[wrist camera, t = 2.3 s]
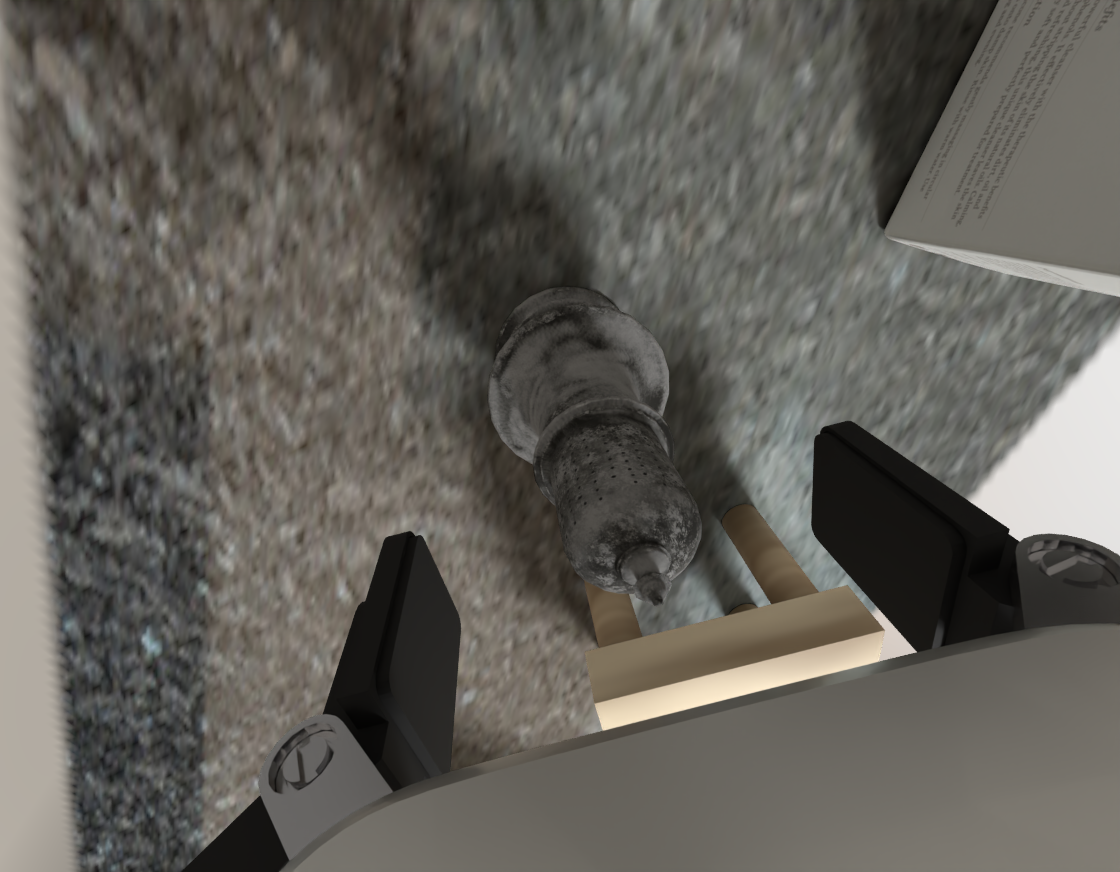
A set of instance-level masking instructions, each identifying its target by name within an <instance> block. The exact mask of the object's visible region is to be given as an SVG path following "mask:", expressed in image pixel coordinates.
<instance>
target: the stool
mask: <svg viewBox="0 0 1120 872" xmlns="http://www.w3.org/2000/svg"><path fill="white" fill-rule="evenodd" d="M722 525H723V528H724V529H725V531H726V533H727V534H728V536H729V537H730V539H731V541H732V542H733V544H734V545H735V547H736V549H737V550H738V552H739V553H740V555H741V556H742V558H743V560H744V561H745V563H746V564H747V566H748V568H749V569H750V571H751V572H752V574H753V576H754V577H755V579H756V580H757V582H758V584H759V585H760V587H761V588H762V590H763V592H764V593H765V595H766V596H767V598H768V600H769V601H770V603H771V605H767V606H763V607H759V608H758V607H757V606H756V605H753V604H743V605H740V606H738V607H736V608H735V609H733V610H732V611H731V612H730V614H729V615H728V616H724V617H720V618H716V619H712V620H708V621H704V622H700V623H696V624H692V625H688V626H684V627H680V628H676V629H672V630H668V631H664V632H661V633H657V634H653V635H649V636H645V637H642V634H641V631H640V628H639V625H638V621H637V618H636V615H635V612H634V609H633V606H632V603H631V599H630V596H629V594H618V593H613V592H609V591H605V590H603V589H601V588H598V587H596V586H594V585H592V584H590V583H588V582H586V581H585V580H584V583H585V588H586V592H587V597H588V601H589V606H590V610H591V615H592V619H593V624H594V628H595V633H596V637H597V642H598V646H599V648H597V649H593V650H589V651H585V656H586V662H587V667H588V672H589V677H590V682H591V687H592V693H593V698H594V703H595V706H596V710H597V713H598V716H599V719H600V722H601V726H602V729H603V731H604V730H608V729H612V728H616V727H620V726H623V725H627V724H631V723H635V722H639V721H643V720H647V719H651V718H655V717H659V716H663V715H667V714H671V713H674V712H678V711H682V710H686V709H690V708H694V707H698V706H702V705H706V704H710V703H714V702H718V701H722V700H726V699H730V698H734V697H738V696H742V695H746V694H750V693H754V692H758V691H762V690H766V689H770V688H774V687H778V686H782V685H786V684H790V683H794V682H798V681H802V680H806V679H810V678H814V677H818V676H822V675H827V674H831V673H835V672H839V671H843V670H847V669H851V668H855V667H859V666H863V665H867V664H871V663H875V662H879V658H880V653H881V648H882V643H883V637H884V632H885V630H884V629H883V628H882V626H881V625H880V624H879V623H878V621H877V620H876V619H875V618H874V617H873V615H872V614H871V613H870V612H869V611H868V609H867V608H866V607H865V606H864V605H863V603H862V602H861V601H860V600H859V599H858V597H857V596H856V595H855V594H854V593H853V591H852V590H851V589H850V588H849V586H848V585H846V586H842V587H838V588H834V589H830V590H826V591H822V592H818V590H817V589H816V588H815V586H814V585H813V584H812V582H811V581H810V580H809V579H808V577H807V576H806V575H805V573H804V572H803V571H802V569H801V568H800V567H799V565H798V564H797V563H796V561H795V560H794V559H793V557H792V556H791V555H790V553H789V552H788V551H787V549H786V548H785V547H784V545H783V544H782V543H781V541H780V540H779V539H778V537H777V536H776V535H775V533H774V532H773V531H772V529H771V528H770V527H769V525H768V524H767V523H766V521H765V520H764V519H763V517H762V516H761V515H760V513H759V512H758V511H757V509H756V508H755V507H753V506H752V505H748V504H743V505H738V506H736V507H734V508H732V509H730V510H729V511H728V512H727V513H726V514H725V516H724V518H723V521H722Z"/></svg>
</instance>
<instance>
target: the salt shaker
mask: <svg viewBox="0 0 1120 872" xmlns="http://www.w3.org/2000/svg"><path fill="white" fill-rule="evenodd" d="M668 395H669V370H668V366H667V363H666V360H665V356H664V353H663V350H662V349H661V347H660V345H659V344H658V342H657V341H656V339H655V338H654V336H653V335H652V333H651V332H650V331H649V330H648V329H647V328H646V327H644V326H643V325H642V324H641V323H640V322H638V321H637V320H636V319H635V318H633V317H632V316H630V315H628V314H626V313H623V312H621V311H619V309H618V308H617V307H616V306H615V305H613V304H612V303H611V302H610V301H609V300H607V299H606V298H605V297H604V296H602V295H600V294H597V293H595V292H593V291H590V290H588V289H585V288H577V287H570V286H565V287H558V288H551V289H547V290H544V291H542V292H540V293H537V294H535V295H533V296H530V297H529V298H528V299H526V300H525V301H524V302H522V303H521V304H520V305H519V306H517V307H516V308H515V309H514V310H513V312H512V313H511V314H510V316H509V317H508V318H507V320H506V321H505V322H504V324H503V326H502V329H501V332H500V334H499V337H498V339H497V345H496V355H495V362H494V365H493V367H492V370H491V372H490V375H489V383H488V394H487V401H488V406H489V411H490V416H491V421H492V423H493V425H494V426H495V428H496V430H497V432H498V434H499V436H500V438H501V440H502V441H503V442H504V443H505V444H506V445H507V446H508V447H509V448H510V449H511V450H512V451H513V452H514V453H515V454H516V455H517V456H519V457H521V458H523V459H524V460H526V461H528V462H529V463H531V464H533V469H534V475H535V481H536V482H537V484H538V486H539V488H540V490H541V492H542V494H543V495H544V496H545V497H546V498H547V499H548V500H549V501H550V502H551V503H552V504H553V505H555V506H556V510H557V515H558V521H559V526H560V531H561V536H562V541H563V547H564V552H565V553H566V555H567V557H568V559H569V561H570V563H571V565H572V567H573V568H574V570H575V572H576V573H577V574H578V575H579V576H580V577H581V578H583V579H584V580H585V581H586V582H588V583H590V584H592V585H594V586H596V587H598V588H601V589H603V590H605V591H609V592H613V593H618V594H634V593H635V595H636V597H637V598H639V599H641V600H643V601H645V602H647V603H649V604H653V605H654V606H656V607H660V606H661V605H662V604H663V602H664V600H665V599H666V597H667V594H668V592H669V590H670V588H671V585H672V584H671V580H672V579H674V578H675V577H677V576H678V575H679V574H680V573H681V572H682V571H683V570H685V568H686V567H687V566H688V564H689V563H690V562H691V560H692V559H693V557H694V555H695V552H696V550H697V547H698V545H699V542H700V540H701V533H702V523H701V518H700V514H699V511H698V508H697V504H696V502H695V500H694V498H693V496H692V495H691V493H690V491H689V490H688V488H687V486H686V485H685V483H684V481H683V480H682V478H681V476H680V475H679V473H678V471H677V470H676V468H675V466H674V465H673V463H672V462H673V459H674V440H673V437H672V433H671V430H670V427H669V426H668V424H667V423H666V422H665V420H664V419H663V418H662V415H663V412H664V409H665V405H666V402H667V398H668Z"/></svg>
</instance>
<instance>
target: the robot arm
mask: <svg viewBox="0 0 1120 872" xmlns="http://www.w3.org/2000/svg"><path fill="white" fill-rule="evenodd" d="M811 525H812V530H813V533H814V535H815V537H816V538H817V540H818V541H819V542H820V543H821V544H822V546H823V547H824V548H825V549H826V550H827V551H828V552H829V553H830V555H831V556H832V557H833V558H834V559H835V560H836V561H837V562H838V564H839V565H840V566H841V567H842V568H843V569H844V570H845V571H846V573H847V574H848V575H849V576H850V577H851V578H852V579H853V580H854V582H855V583H856V584H857V585H858V586H859V587H860V588H861V589H862V591H863V592H864V593H865V594H866V595H867V596H868V597H869V599H870V600H871V601H872V602H873V603H874V604H875V605H876V606H877V608H878V609H879V610H880V611H881V612H882V613H883V614H884V615H885V617H886V618H888V620H889V621H890V622H891V623H892V624H893V626H894V627H895V628H896V629H897V630H898V631H899V632H900V633H901V635H902V636H903V637H904V638H905V639H906V640H907V641H908V642H909V644H910V645H911V646H912V647H913V648H914V649H915V650H916V651H917V653H913V654H908V655H904V656H900V657H896V658H892V659H888V660H884V661H880V662H875V663H871V664H867V665H863V666H859V667H855V668H851V669H847V670H843V671H839V672H835V673H831V674H827V675H822V676H818V677H814V678H810V679H806V680H802V681H798V682H794V683H790V684H786V685H782V686H778V687H774V688H770V689H766V690H762V691H758V692H754V693H750V694H746V695H742V696H738V697H734V698H730V699H726V700H722V701H718V702H714V703H710V704H706V705H702V706H698V707H694V708H690V709H686V710H682V711H678V712H674V713H671V714H667V715H663V716H659V717H655V718H651V719H647V720H643V721H639V722H635V723H631V724H627V725H623V726H620V727H616V728H612V729H608V730H604V731H600V732H596V733H592V734H588V735H585V736H581V737H577V738H573V739H569V740H565V741H561V742H557V743H554V744H550V745H546V746H542V747H538V748H534V749H530V750H526V751H523V752H519V753H516V754H512V755H508V756H505V757H501V758H497V759H494V760H490V761H487V762H483V763H479V764H476V765H472V766H469V767H465V768H461V769H458V770H454V771H451V772H450V766H451V753H452V740H453V726H454V713H455V700H456V687H457V674H458V661H459V647H460V634H461V623H460V618H459V614H458V612H457V610H456V608H455V605H454V603H453V601H452V599H451V597H450V594H449V592H448V590H447V588H446V586H445V584H444V581H443V579H442V577H441V575H440V573H439V571H438V568H437V566H436V564H435V562H434V560H433V558H432V555H431V553H430V551H429V549H428V547H427V545H426V542H425V540H424V538H423V537H422V536H421V535H418V536H415V535H414V534H413V533H412V532H411V531H408V532H404V533H401V534H397V535H393V536H389V537H386V538H385V540H384V542H383V546H382V549H381V552H380V555H379V559H378V562H377V565H376V568H375V572H374V575H373V578H372V582H371V585H370V588H369V591H368V595H367V598H366V601H365V602H362V603H361V604H360V605H359V606H358V608H357V610H356V612H355V615H354V618H353V622H352V625H351V628H350V631H349V634H348V637H347V640H346V643H345V646H344V650H343V653H342V656H341V659H340V662H339V665H338V668H337V671H336V674H335V678H334V681H333V684H332V687H331V690H330V693H329V696H328V699H327V703H326V706H325V709H324V712H323V715H318V716H313V717H311V718H309V719H307V720H304V721H302V722H301V723H299V724H298V725H296V726H295V727H293V728H292V729H291V730H289V731H288V732H287V733H286V734H285V735H284V736H283V737H282V738H281V739H280V740H279V741H278V742H277V743H276V745H275V746H274V747H273V749H272V750H271V752H270V753H269V754H268V756H267V758H266V760H265V762H264V764H263V766H262V768H261V771H260V777H259V782H258V785H259V791H260V796H259V797H258V798H257V799H256V800H255V801H254V802H253V803H252V804H251V805H250V806H249V807H248V808H247V809H246V810H245V811H243V812H242V813H241V814H240V815H239V816H238V817H237V818H236V819H235V820H234V821H233V822H232V823H231V824H230V825H229V826H228V827H227V828H226V829H225V830H224V831H223V832H222V833H221V834H220V835H219V836H218V837H217V838H216V839H215V840H214V841H213V842H211V843H210V844H209V845H208V846H207V847H206V848H205V849H204V850H203V851H202V852H201V853H200V854H199V855H198V856H197V857H196V858H195V859H194V860H193V861H192V862H191V863H190V864H189V865H188V866H187V867H186V868H185V869H184V870H183V871H182V872H1120V556H1119V555H1118V554H1116V553H1114V552H1112V551H1111V550H1109V549H1107V548H1105V547H1103V546H1101V545H1099V544H1096V543H1093V542H1090V541H1088V540H1085V539H1081V538H1077V537H1072V536H1068V535H1059V534H1039V535H1033V536H1030V537H1027V538H1024V539H1023V540H1022V541H1020V542H1019V541H1018V540H1016V539H1015V538H1013V537H1012V536H1011V535H1009V534H1008V533H1009V528H1007V527H1006V526H1004V525H1003V524H1001V523H1000V522H998V521H997V520H995V519H994V518H993V517H991V516H990V515H988V514H987V513H985V512H984V511H982V510H981V509H979V508H978V507H976V506H975V505H974V504H972V503H971V502H969V501H968V500H966V499H965V498H963V497H962V496H960V495H959V494H958V493H956V492H955V491H953V490H952V489H950V488H949V487H947V486H946V485H944V484H943V483H942V482H940V481H939V480H937V479H936V478H934V477H933V476H931V475H930V474H928V473H927V472H925V471H924V470H923V469H921V468H920V467H918V466H917V465H915V464H914V463H912V462H911V461H909V460H908V459H906V458H905V457H904V456H902V455H901V454H899V453H898V452H896V451H895V450H893V449H892V448H890V447H889V446H888V445H886V444H885V443H883V442H882V441H880V440H879V439H877V438H876V437H874V436H873V435H871V434H870V433H869V432H867V431H866V430H864V429H863V428H861V427H860V426H858V425H857V424H855V423H854V422H852V421H845V422H841V423H837V424H833V425H829V426H825V427H823V428H822V430H821V431H820V434H819V435H817V436H816V437H815V440H814V463H813V492H812V520H811Z"/></svg>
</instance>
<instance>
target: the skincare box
mask: <svg viewBox="0 0 1120 872" xmlns="http://www.w3.org/2000/svg"><path fill="white" fill-rule="evenodd" d="M884 234H885V236H886V237H887V238H889V239H891V240H894V241H897V242H900V243H903V244H906V245H910V246H913V247H916V248H919V249H923V250H926V251H929V252H932V253H936V254H939V255H942V256H945V257H949V258H952V259H955V260H958V261H962V262H965V263H969V264H972V265H976V266H980V267H983V268H987V269H991V270H994V271H998V272H1002V273H1006V274H1010V275H1015V276H1020V277H1025V278H1030V279H1035V280H1039V281H1044V282H1049V283H1054V284H1059V285H1064V286H1069V287H1074V288H1079V289H1084V290H1089V291H1094V292H1099V293H1104V294H1109V295H1113V296H1118V297H1120V0H999V1H998V3H997V5H996V7H995V9H994V11H993V13H992V15H991V17H990V19H989V21H988V23H987V25H986V27H985V29H984V31H983V33H982V35H981V38H980V40H979V42H978V44H977V46H976V48H975V50H974V52H973V54H972V56H971V58H970V60H969V62H968V64H967V66H966V68H965V70H964V72H963V74H962V76H961V78H960V80H959V82H958V84H957V86H956V88H955V90H954V92H953V94H952V96H951V98H950V100H949V102H948V104H947V106H946V108H945V110H944V112H943V114H942V116H941V118H940V120H939V122H938V124H937V126H936V128H935V130H934V132H933V134H932V136H931V138H930V140H929V142H928V144H927V146H926V148H925V150H924V152H923V154H922V156H921V158H920V160H919V162H918V164H917V166H916V168H915V170H914V172H913V174H912V176H911V178H910V180H909V182H908V184H907V186H906V188H905V190H904V192H903V194H902V196H901V198H900V200H899V202H898V204H897V206H896V208H895V210H894V212H893V214H892V216H891V218H890V220H889V222H888V224H887V226H886V228H885V231H884Z"/></svg>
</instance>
